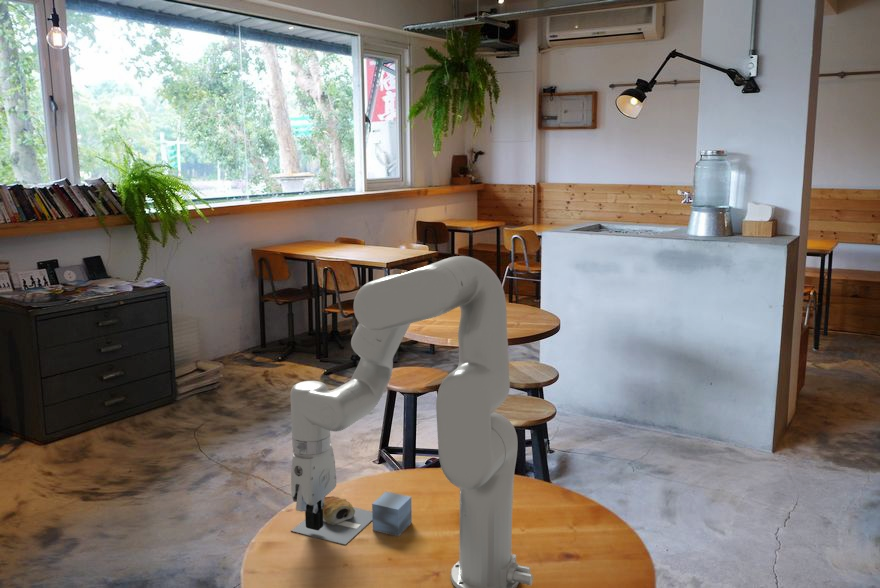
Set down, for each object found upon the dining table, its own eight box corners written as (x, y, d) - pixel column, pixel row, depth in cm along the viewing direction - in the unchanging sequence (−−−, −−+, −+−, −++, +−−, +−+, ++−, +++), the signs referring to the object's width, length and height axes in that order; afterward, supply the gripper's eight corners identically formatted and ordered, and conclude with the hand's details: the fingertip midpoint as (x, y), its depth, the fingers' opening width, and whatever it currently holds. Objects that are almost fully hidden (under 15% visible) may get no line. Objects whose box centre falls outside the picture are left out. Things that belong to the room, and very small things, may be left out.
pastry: (311, 509, 166) (310, 492, 165) (339, 501, 170) (338, 485, 169) (329, 527, 158) (329, 510, 158) (358, 518, 162) (358, 502, 161)
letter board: (379, 513, 165) (379, 512, 164) (345, 545, 152) (345, 543, 152) (327, 502, 170) (327, 500, 170) (291, 531, 157) (291, 530, 157)
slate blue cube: (411, 523, 161) (411, 496, 160) (398, 536, 156) (398, 509, 154) (386, 517, 163) (386, 491, 162) (372, 530, 158) (372, 503, 157)
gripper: (306, 460, 144) (309, 549, 148) (347, 433, 157) (349, 514, 161) (273, 454, 147) (277, 541, 151) (316, 427, 160) (318, 507, 164)
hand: (314, 527), depth 156 cm, fingers closed
